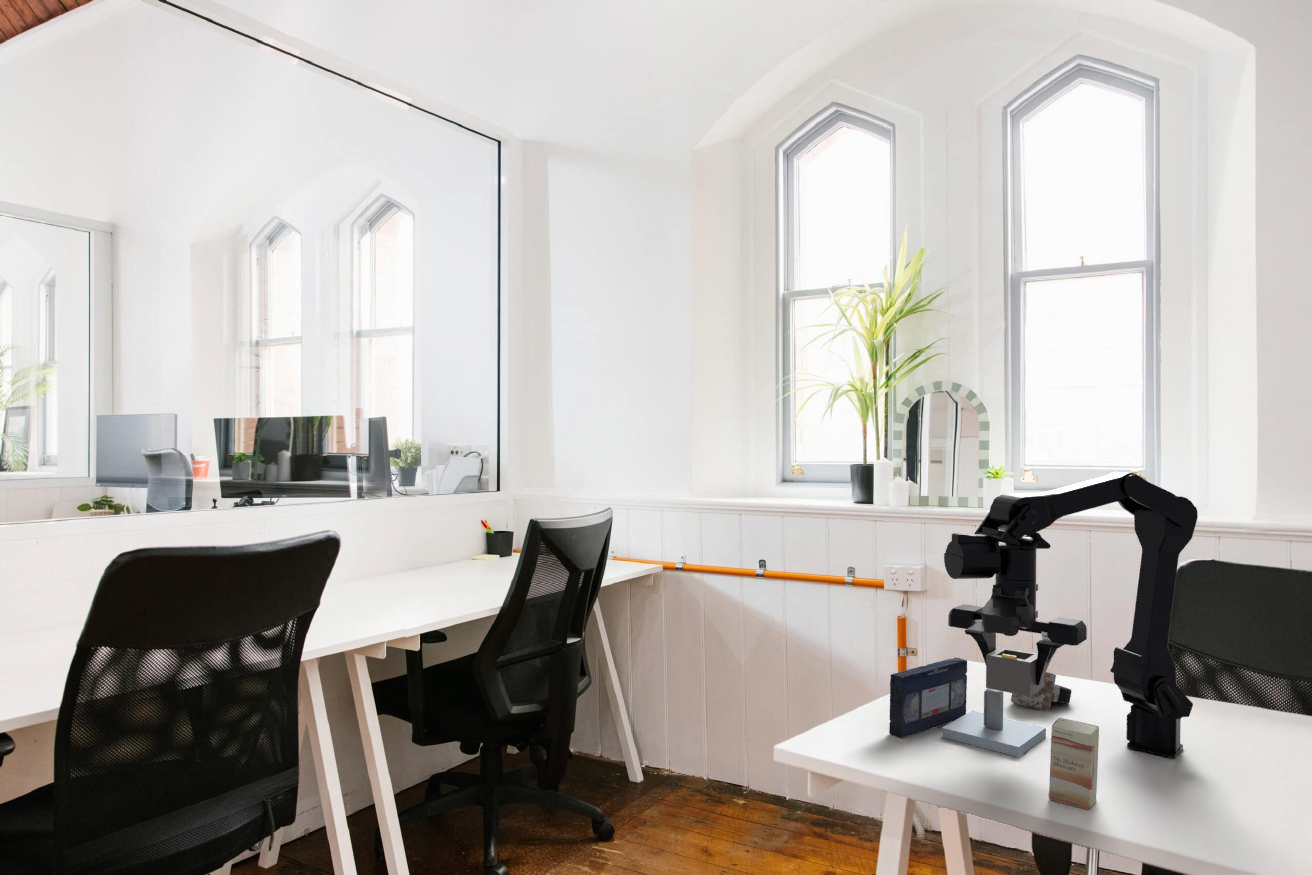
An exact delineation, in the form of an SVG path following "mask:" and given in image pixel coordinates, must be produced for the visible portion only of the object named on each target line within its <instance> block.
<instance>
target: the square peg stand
mask: <svg viewBox="0 0 1312 875" xmlns="http://www.w3.org/2000/svg"><path fill="white" fill-rule="evenodd" d="M983 692H984V693H983V712H980V711H976V710H971V711H969V712H966V714H965V715H964V716H962V717H960V718H958V719H957V720H955V721H953V722H950V723H947V724H945V726H944V725H943V726H942V728H941V729H942V730H941V737H942V738H945V739H949V740H952V741H957V742H959V743H964V744H967V745H971V746H976V747H980V748H983V749H986V750H987V749H988V750H990V751H994V752H998V753H1003V754H1006V755H1010V756H1013V757H1018V758H1020V757H1021V756H1023V755H1024V754H1025V753H1026V752H1028V751H1029V750H1030V749H1031V748H1034V746H1036V745H1037V744H1039V742H1041V741H1042V740H1044V739H1045V738H1046V737H1047V736H1046V735H1047V727H1044V726H1041V725H1036V724H1031V723H1026V722H1024V721H1018V720H1015V719H1010V718H1006V717H1004V691H999V690H994V689H989V688H986V689H985V690H984V691H983Z"/></svg>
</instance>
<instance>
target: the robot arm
mask: <svg viewBox="0 0 1312 875" xmlns="http://www.w3.org/2000/svg"><path fill="white" fill-rule="evenodd" d="M1116 502H1117V503H1118V505H1120V507H1121V508H1122V509H1123V510H1124V511H1127V512H1128V513H1129V514H1131V515H1132V516H1133V519H1134V521H1133V523H1134V532H1135V535H1136V536H1137V540H1138V541H1139V544H1140V546H1141V558H1140V565H1139V574H1138V581H1137V582H1138V583H1137V590H1136V596H1135V597H1136V598H1135V606H1134V614H1133V615H1134V616H1133V622H1132V632H1131V637H1130V639H1129V641H1128V642H1127V643H1126V645H1125V646H1124V647H1123V648H1121V647H1118V646H1116V647H1115V648H1114V650H1113V663H1112V667H1111V668H1110V671H1109V672H1111V673H1113V682H1114V684H1115V685H1116V686H1117V687H1118V689H1119V690H1120V693H1121V696H1122V699H1123V701H1124V702H1128V703H1131V704H1132V705H1130V711H1129V713H1128V714H1126V740H1127V741H1128V742H1127V743H1126V747H1127V748H1129V749H1133V750H1137V751H1141V752H1146V753H1150V754H1155V755H1158V756H1162V757H1163V756H1164V757H1168V758H1172V759H1175V758H1176V757H1177V756H1178V754H1179V753H1181V751H1182V750H1183V749H1184V744H1181V725H1182V723H1181V720H1182V718H1188V717H1190V715H1191V713H1192V709H1193V706H1194V703H1193V702H1192V701H1191V700H1190V699H1189V697H1187V695H1186V694H1185V693H1184V692H1183V691H1182V690H1181V689H1180V688H1179V686H1177V667H1176V664H1175V662H1174V659H1173V656H1172V654H1171V652H1170V649H1169V639H1170V638H1169V636H1170V630H1171V622H1172V613H1173V605H1174V598H1175V597H1174V596H1175V588H1176V580H1177V574H1178V573H1177V571H1178V567H1179V566H1178V564H1179V557H1180V554H1181V552H1182V551H1183V550H1184V549H1185V548H1186V546H1187V545H1188V544H1189V543H1190V542H1191V540H1192V539H1193V536H1194V533H1195V532H1194V531H1195V528H1196V525H1197V521H1198V518H1199V515H1198V509H1197V506H1195V505H1194V503H1193V502H1192V501H1191V500H1190V499H1189V498H1187V497H1184V496H1181V495H1180V496H1179V495H1176V494H1174V493H1173V492H1171V491H1169V490H1167V489H1164V488H1162V487H1160V486H1158V485H1155V484H1154V483H1151V482H1150V481H1147V480H1146V479H1145V478H1143V477H1142V476H1140V475H1138V474H1137V473H1134V472H1126V471H1125V472H1124V471H1123V472H1121V471H1113V472H1110V473H1109V474H1107V475H1103V476H1100V477H1099V476H1098V477H1097V478H1091V479H1088V480H1085V481H1082V482H1081V481H1080V482H1077V483H1074V484H1070V485H1067V486H1063V487H1059V488H1055V489H1052V490H1047V491H1044V492H1043V491H1042V492H1019V493H1018V492H1017V493H1004V494H1001V495H998V496H996V497H995V498H994V499H993V501H992V503H991V505H990V508H989V512H988V513H987V514H986V516H985V518H984V519H983V520H982V522H981V523H980V525H979V526H978V527H977V529H976V530H975V532H974V534H973V533H972V534H971V533H970V534H969V533H968V534H967V533H966V534H965V533H960V532H954V533H952V534H951V541H950V542H949V543H948V544H947V547H945V548H946V549H945V552H944V554H943V560H944V561H943V562H944V566H945V570H946V572H947V575H948V576H949V578H951V579H953V580H968V579H969V580H971V579H973V580H975V579H976V580H977V579H992V578H993V577H995V578H994V579H995V581H994V582H995V583H994V584H992V591H991V597H990V599H988V601H987V602H986V603H985V605H984V606H979V605H971V604H964V603H963V604H960V605H957V606H955V607H953V608H952V609H950V611H949V612H948V627H952V628H957V629H958V628H959V629H962V630H963V629H964V633H965V635H969V636H971V637H972V638H973V640H974V641H975V642H976V644H977V646H978V648H979V651H980V652H981V655H982V658H983V661H984V663H985V665H986V655H987V654H989V653H991V652H993V651H994V650H996V649H997V634H1002V635H1004V636H1006V637H1014V636H1016V635H1018V633H1019V631H1020V632H1021V631H1022V632H1028V633H1034V634H1041V639H1040V640H1038V641H1037V642H1035V644H1036V648H1037V653H1038V655H1037V665H1036V685H1038V686H1039V685H1040V684H1041V682H1042V680H1043V678H1044V675H1045V673H1046V672H1047V670H1048V668H1049V666H1050V663H1051V661H1052V659H1053V657H1054V655H1055V653H1056V652H1057V650H1058V649H1060V648H1061V647H1063V646H1078V645H1079V646H1080V645H1081V643H1084V642H1085V641H1087V635H1088V633H1087V632H1088V629H1087V625H1086V624H1085V622H1084V621H1083V620H1082V619H1081V620H1080V619H1075V618H1065V617H1061V616H1060V617H1059V616H1058V617H1055V618H1054V619H1052V620H1050V621H1044V620H1043V621H1042V620H1037V619H1038V618H1039V610H1037V592H1038V591H1039V584H1038V583H1037V550H1039V549H1042V550H1043V549H1044V550H1046V549H1051V548H1052V547H1051V544H1050V543H1049V542H1048V541H1047V540H1045V539H1044V538H1043V537H1042V536H1041V533H1039V532H1040V531H1042V530H1045V529H1046V528H1048V527H1050V526H1052V525H1053V524H1054V523H1055V522H1056V521H1057V520H1059V519H1061V518H1063V517H1066V516H1068V515H1073V514H1077V513H1080V512H1084V511H1088V510H1091V509H1094V508H1098V507H1103V506H1105V505H1106V506H1107V505H1110V504H1113V503H1116Z"/></svg>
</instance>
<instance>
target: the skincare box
mask: <svg viewBox="0 0 1312 875" xmlns="http://www.w3.org/2000/svg"><path fill="white" fill-rule="evenodd" d="M1099 739H1100V726H1098V725H1096V724H1091V723H1087V722H1082V721H1078V720H1073V719H1069V718H1063V717H1058V718H1057V719H1056V720H1055V721H1054V722H1053V723H1052V725H1051V739H1050V740H1051V741H1050V757H1049V758H1050V759H1049V760H1050V762H1049V763H1050V764H1049V787H1048V789H1049V790H1048V799H1049V800H1050V801H1053V802H1057V803H1061V804H1064V805H1067V806H1071V807H1075V808H1078V809H1082V810H1085V811H1089V810H1091V808H1092V807H1093V806H1094V804H1095V803H1096V801H1097V793H1098V792H1097V790H1098V789H1097V788H1098V766H1099V763H1098V762H1099V745H1100V744H1099V741H1100V740H1099Z"/></svg>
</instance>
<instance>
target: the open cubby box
mask: <svg viewBox="0 0 1312 875" xmlns="http://www.w3.org/2000/svg"><path fill="white" fill-rule="evenodd" d="M1037 655H1038V652H1032V651H1027V650H1020V649H1014V648H1008V647H1004V646H1003V647H1002V646H999V647H998V648H996V650H994V651H993V652H991V653H989V654H987V655H986V664H985V668H986V669H985V688H986V689H987V688H989V689H994V690H999V691H1003V693H1004V692H1006V693H1009V694H1012V693H1014V694H1019V695H1024V696H1029V697H1030V696H1032V695H1033V694H1035V693H1036V692H1037V691H1039V690H1040V689H1042V688H1043V687H1044V678H1043V680H1042V682H1041V684H1040V685H1039V686H1038V685H1036V665H1037Z"/></svg>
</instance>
